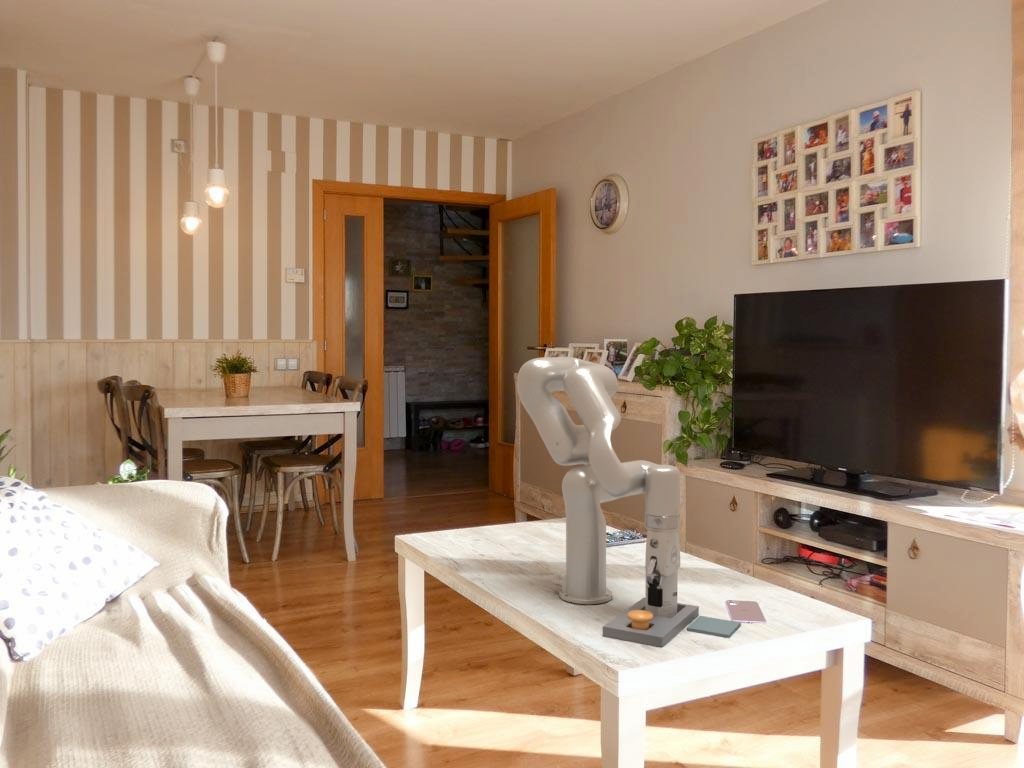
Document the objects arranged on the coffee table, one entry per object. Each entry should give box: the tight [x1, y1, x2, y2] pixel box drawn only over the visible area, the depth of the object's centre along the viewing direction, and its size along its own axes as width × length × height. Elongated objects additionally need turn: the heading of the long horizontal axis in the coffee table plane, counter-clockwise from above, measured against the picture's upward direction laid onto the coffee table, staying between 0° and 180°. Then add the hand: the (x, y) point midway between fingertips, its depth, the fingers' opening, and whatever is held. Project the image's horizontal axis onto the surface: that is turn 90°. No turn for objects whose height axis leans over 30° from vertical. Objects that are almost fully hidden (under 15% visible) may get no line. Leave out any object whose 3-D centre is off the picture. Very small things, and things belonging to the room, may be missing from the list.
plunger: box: [628, 610, 653, 631], centre depth 177 cm, size 5×5×4 cm
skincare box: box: [644, 565, 679, 618], centre depth 188 cm, size 6×4×12 cm
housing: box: [602, 597, 700, 648], centre depth 183 cm, size 13×23×2 cm, turn 150°
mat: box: [686, 615, 742, 639], centre depth 182 cm, size 9×9×1 cm
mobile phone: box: [724, 599, 768, 624], centre depth 192 cm, size 8×1×15 cm
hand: (661, 600), depth 188 cm, fingers closed on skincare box, 7 cm apart
